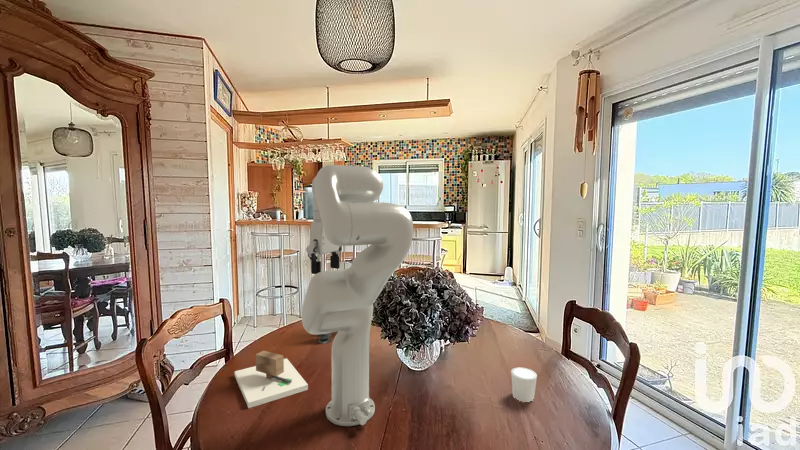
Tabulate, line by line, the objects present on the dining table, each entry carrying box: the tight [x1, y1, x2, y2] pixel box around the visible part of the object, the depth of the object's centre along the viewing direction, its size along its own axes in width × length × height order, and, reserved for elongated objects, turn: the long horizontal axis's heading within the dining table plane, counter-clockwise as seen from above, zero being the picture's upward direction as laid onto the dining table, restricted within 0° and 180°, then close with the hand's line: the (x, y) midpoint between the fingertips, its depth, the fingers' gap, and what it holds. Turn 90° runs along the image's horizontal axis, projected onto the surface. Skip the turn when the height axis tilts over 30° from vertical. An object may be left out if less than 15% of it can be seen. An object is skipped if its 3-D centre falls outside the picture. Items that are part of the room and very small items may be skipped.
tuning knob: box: [255, 350, 292, 383], centre depth 102 cm, size 12×3×7 cm, turn 65°
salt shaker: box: [317, 332, 333, 345], centre depth 134 cm, size 6×6×12 cm
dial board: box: [234, 357, 309, 409], centre depth 103 cm, size 20×16×2 cm
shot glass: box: [510, 366, 538, 403], centre depth 97 cm, size 7×7×7 cm
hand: (325, 270), depth 109 cm, fingers open, 9 cm apart
